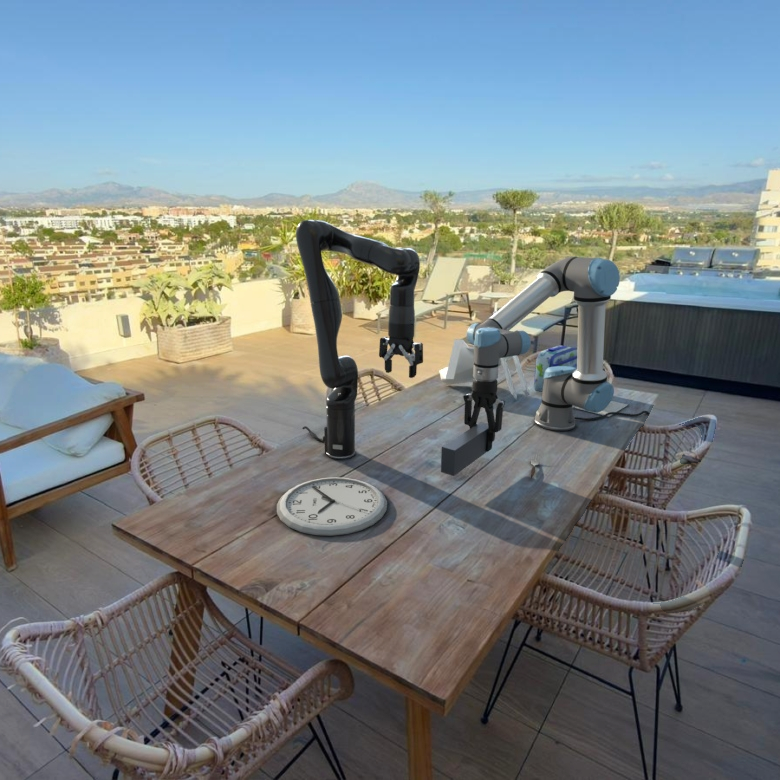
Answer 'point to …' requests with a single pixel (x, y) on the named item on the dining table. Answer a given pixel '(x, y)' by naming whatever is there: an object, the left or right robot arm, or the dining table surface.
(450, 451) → the bar
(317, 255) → the left robot arm
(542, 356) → the lunch box
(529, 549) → the dining table surface
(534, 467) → the fork
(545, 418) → the right robot arm
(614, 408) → the invitation card
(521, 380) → the white plastic object
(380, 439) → the dining table surface
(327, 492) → the wall clock
